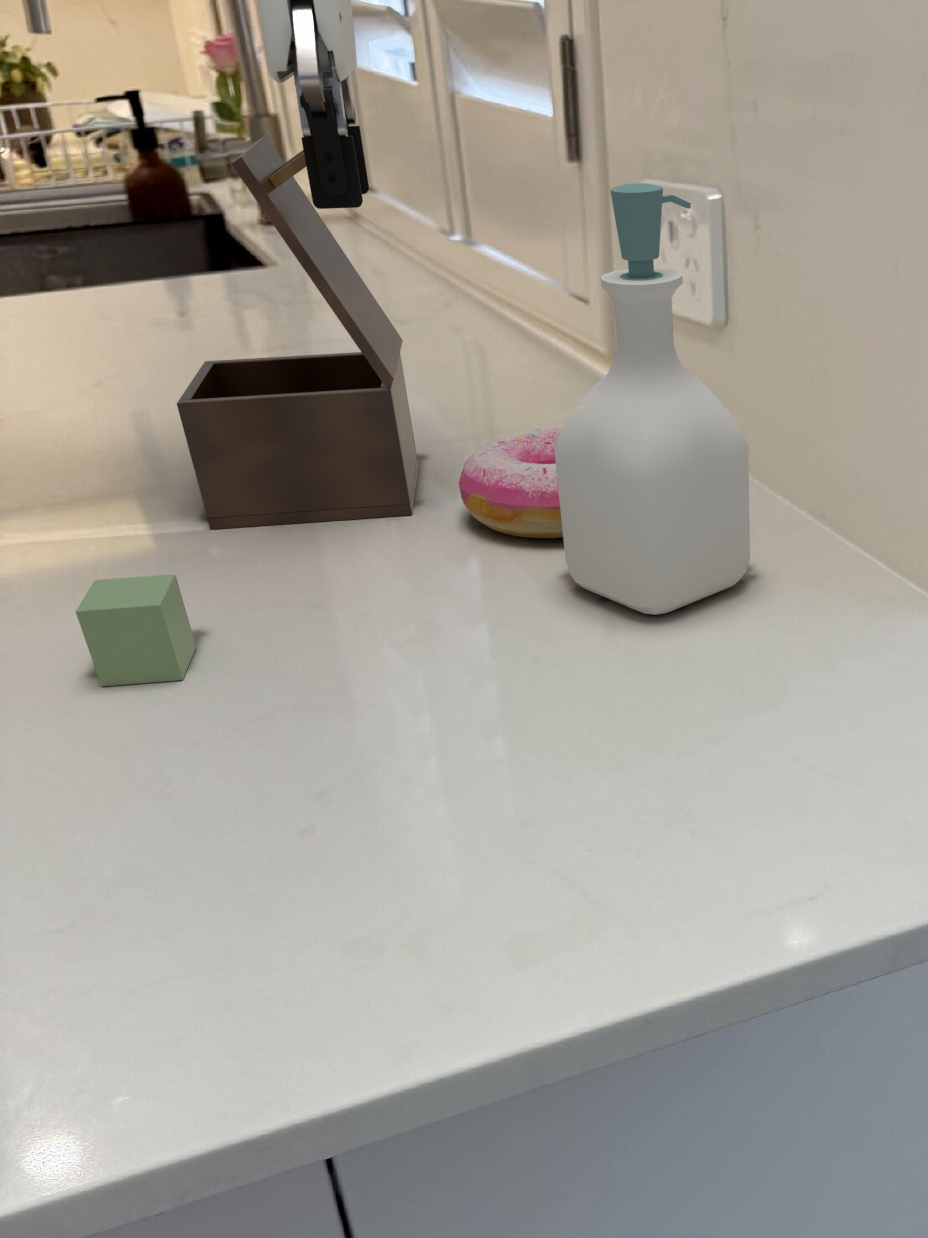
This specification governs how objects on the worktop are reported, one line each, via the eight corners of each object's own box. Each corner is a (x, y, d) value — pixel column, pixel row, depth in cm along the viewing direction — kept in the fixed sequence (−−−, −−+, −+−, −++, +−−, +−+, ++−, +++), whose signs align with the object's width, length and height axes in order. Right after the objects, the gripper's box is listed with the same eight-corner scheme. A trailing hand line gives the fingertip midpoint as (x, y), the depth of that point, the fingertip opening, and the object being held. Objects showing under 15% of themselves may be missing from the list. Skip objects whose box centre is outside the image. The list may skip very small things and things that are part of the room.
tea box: (209, 529, 96) (176, 403, 91) (234, 478, 105) (204, 361, 100) (412, 515, 98) (390, 390, 92) (418, 466, 107) (399, 349, 101)
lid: (230, 164, 83) (302, 112, 82) (256, 141, 92) (320, 94, 91) (384, 386, 92) (451, 342, 91) (394, 346, 101) (454, 305, 100)
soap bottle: (763, 585, 86) (761, 181, 72) (653, 631, 80) (627, 205, 66) (664, 548, 91) (643, 167, 77) (555, 589, 86) (512, 188, 72)
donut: (518, 478, 104) (510, 411, 101) (675, 493, 100) (672, 425, 97) (432, 538, 94) (420, 466, 91) (603, 557, 90) (597, 484, 87)
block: (101, 687, 76) (75, 611, 73) (118, 653, 80) (94, 579, 77) (182, 680, 77) (160, 604, 74) (196, 647, 80) (175, 573, 77)
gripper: (241, -141, 85) (300, 184, 96) (195, -156, 72) (270, 224, 83) (359, -142, 86) (404, 181, 97) (336, -157, 72) (391, 219, 84)
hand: (342, 197), depth 90 cm, fingers closed on lid, 5 cm apart
